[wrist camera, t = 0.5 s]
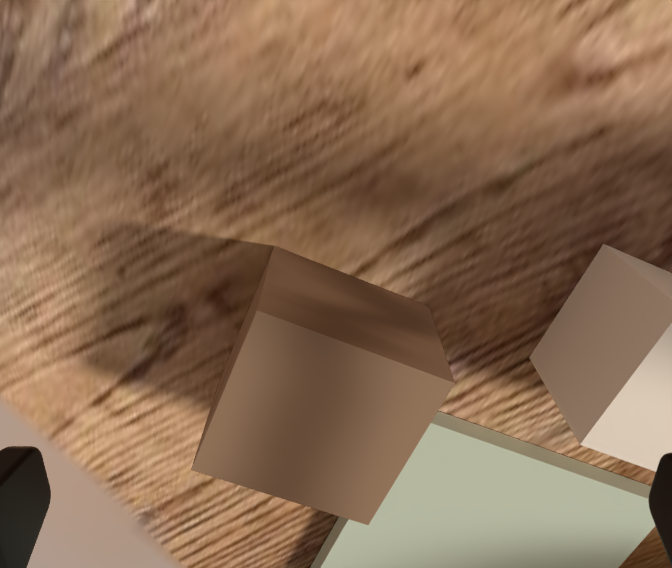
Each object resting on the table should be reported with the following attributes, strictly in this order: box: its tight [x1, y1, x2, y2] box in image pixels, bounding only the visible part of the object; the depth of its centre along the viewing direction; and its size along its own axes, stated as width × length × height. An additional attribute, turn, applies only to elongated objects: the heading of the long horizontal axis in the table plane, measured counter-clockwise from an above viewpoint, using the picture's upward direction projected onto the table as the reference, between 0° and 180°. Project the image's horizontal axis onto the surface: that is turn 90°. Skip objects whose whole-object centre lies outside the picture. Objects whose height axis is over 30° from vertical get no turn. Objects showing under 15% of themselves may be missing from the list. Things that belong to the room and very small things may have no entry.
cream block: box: [529, 244, 672, 472], centre depth 19 cm, size 5×5×5 cm
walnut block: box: [191, 246, 455, 525], centre depth 19 cm, size 6×6×5 cm
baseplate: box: [310, 411, 655, 568], centre depth 25 cm, size 12×12×1 cm
